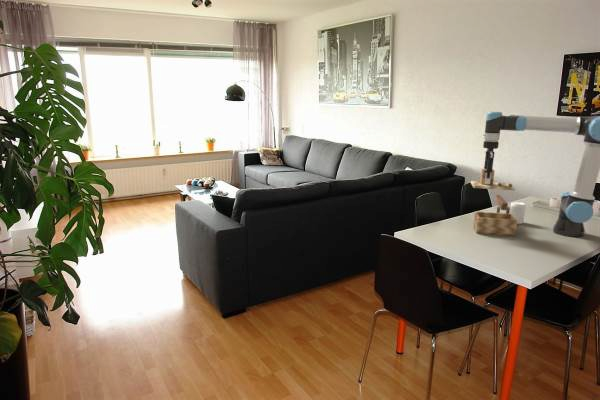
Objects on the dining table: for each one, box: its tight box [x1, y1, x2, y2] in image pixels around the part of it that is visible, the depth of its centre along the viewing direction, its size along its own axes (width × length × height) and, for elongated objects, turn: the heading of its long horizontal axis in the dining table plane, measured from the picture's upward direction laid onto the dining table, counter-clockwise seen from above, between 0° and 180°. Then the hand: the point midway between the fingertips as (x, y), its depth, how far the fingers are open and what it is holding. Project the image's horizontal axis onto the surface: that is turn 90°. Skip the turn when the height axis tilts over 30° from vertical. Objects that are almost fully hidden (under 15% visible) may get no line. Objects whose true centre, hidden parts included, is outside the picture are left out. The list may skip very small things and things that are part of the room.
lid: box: [470, 168, 516, 191], centre depth 242 cm, size 21×14×9 cm
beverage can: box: [509, 201, 526, 225], centre depth 264 cm, size 8×8×12 cm
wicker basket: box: [472, 205, 518, 237], centre depth 250 cm, size 20×20×12 cm
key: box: [494, 194, 509, 211], centre depth 263 cm, size 3×24×4 cm, turn 165°
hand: (486, 183), depth 243 cm, fingers closed on lid, 4 cm apart
